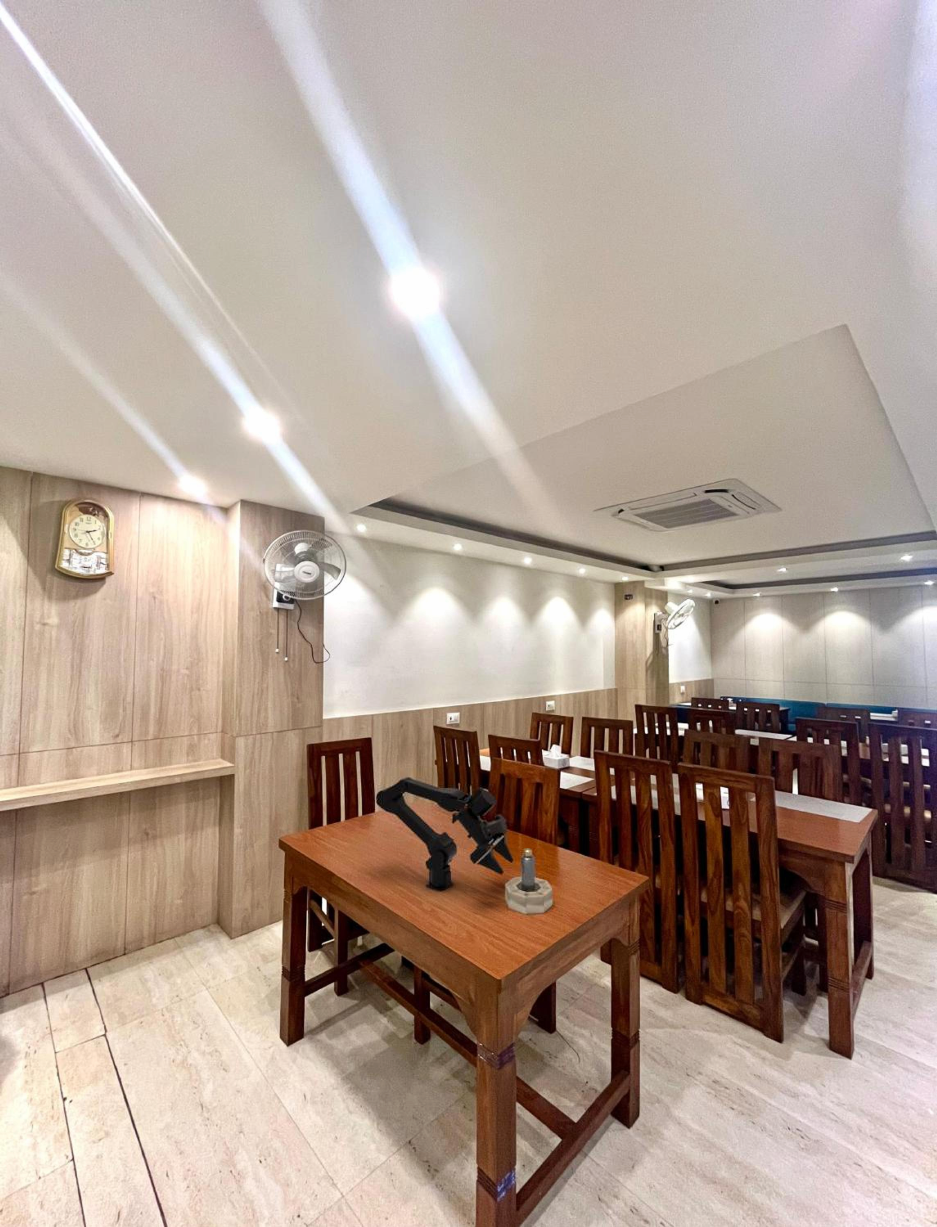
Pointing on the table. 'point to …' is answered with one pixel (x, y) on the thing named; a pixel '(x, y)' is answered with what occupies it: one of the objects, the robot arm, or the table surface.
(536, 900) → the cream octagonal ring
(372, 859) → the table surface
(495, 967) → the table surface
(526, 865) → the bottle
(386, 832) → the table surface
